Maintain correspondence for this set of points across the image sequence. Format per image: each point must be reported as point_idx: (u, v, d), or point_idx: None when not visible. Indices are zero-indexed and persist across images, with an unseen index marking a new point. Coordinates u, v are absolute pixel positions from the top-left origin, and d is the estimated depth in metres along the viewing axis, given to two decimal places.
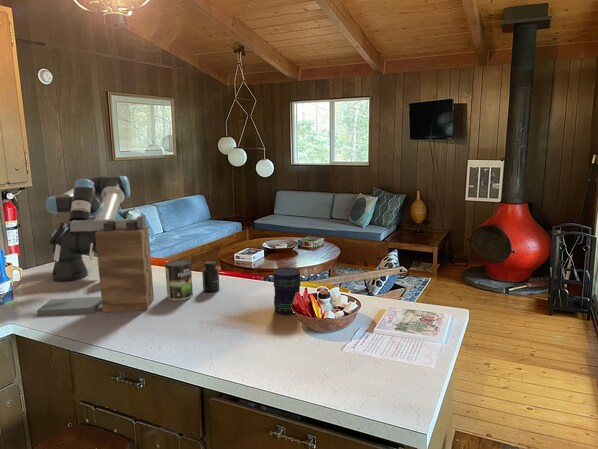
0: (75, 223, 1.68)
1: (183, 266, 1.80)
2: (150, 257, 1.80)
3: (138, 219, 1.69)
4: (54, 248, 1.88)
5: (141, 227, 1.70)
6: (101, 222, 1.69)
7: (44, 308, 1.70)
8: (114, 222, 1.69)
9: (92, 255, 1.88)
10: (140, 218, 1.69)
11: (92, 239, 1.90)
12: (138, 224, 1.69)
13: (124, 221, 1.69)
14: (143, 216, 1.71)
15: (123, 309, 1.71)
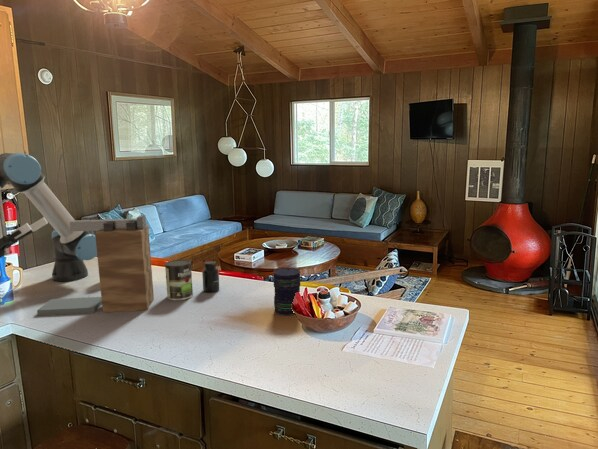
0: (75, 223, 1.68)
1: (183, 266, 1.80)
2: (150, 257, 1.80)
3: (138, 219, 1.69)
4: None
5: (141, 227, 1.70)
6: (101, 222, 1.69)
7: (44, 308, 1.70)
8: (114, 222, 1.69)
9: (24, 228, 1.63)
10: (140, 218, 1.69)
11: None
12: (138, 224, 1.69)
13: (124, 221, 1.69)
14: (143, 216, 1.71)
15: (123, 309, 1.71)
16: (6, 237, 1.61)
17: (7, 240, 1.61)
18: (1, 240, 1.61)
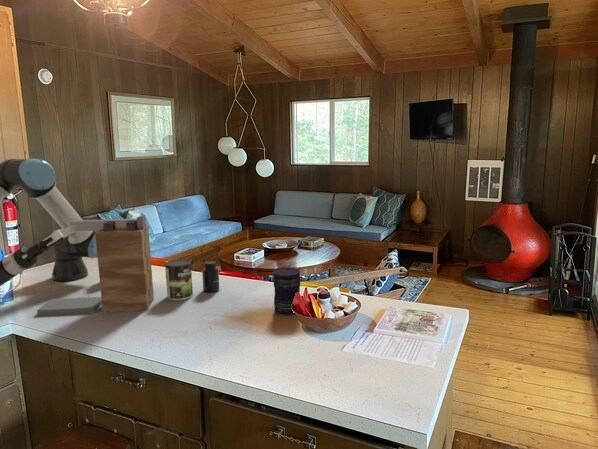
0: (75, 223, 1.68)
1: (183, 266, 1.80)
2: (150, 257, 1.80)
3: (138, 219, 1.69)
4: None
5: (141, 227, 1.70)
6: (101, 222, 1.69)
7: (44, 308, 1.70)
8: (114, 222, 1.69)
9: (56, 235, 1.62)
10: (140, 218, 1.69)
11: None
12: (138, 224, 1.69)
13: (124, 221, 1.69)
14: (143, 216, 1.71)
15: (123, 309, 1.71)
16: (38, 245, 1.59)
17: (39, 248, 1.59)
18: (33, 248, 1.60)
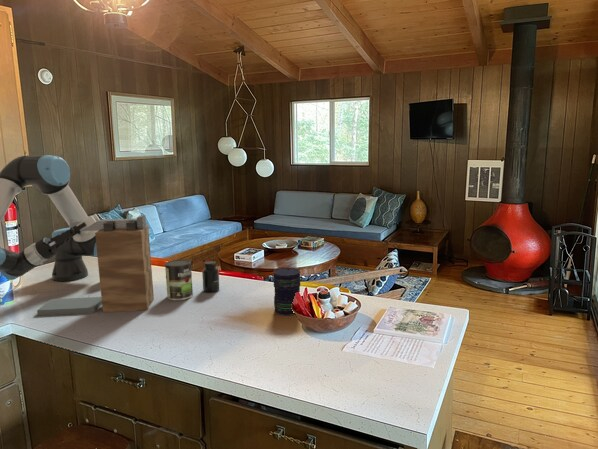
0: (75, 223, 1.68)
1: (183, 266, 1.80)
2: (150, 257, 1.80)
3: (138, 219, 1.69)
4: None
5: (141, 227, 1.70)
6: (101, 222, 1.69)
7: (44, 308, 1.70)
8: (114, 222, 1.69)
9: (89, 221, 1.67)
10: (140, 218, 1.69)
11: None
12: (138, 224, 1.69)
13: (124, 221, 1.69)
14: (143, 216, 1.71)
15: (123, 309, 1.71)
16: (73, 229, 1.65)
17: (74, 232, 1.65)
18: (67, 232, 1.64)
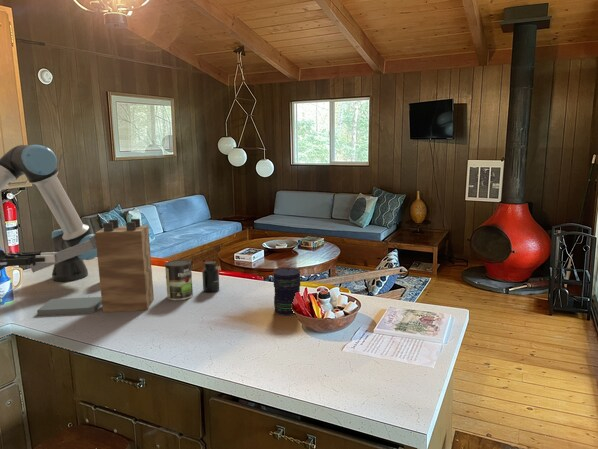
0: None
1: (183, 266, 1.80)
2: (150, 257, 1.80)
3: (91, 239, 1.69)
4: None
5: None
6: (58, 254, 1.69)
7: (44, 308, 1.70)
8: (70, 249, 1.69)
9: (49, 258, 1.68)
10: (92, 237, 1.69)
11: None
12: (93, 244, 1.69)
13: (79, 245, 1.69)
14: None
15: (123, 309, 1.71)
16: (30, 260, 1.66)
17: (30, 263, 1.66)
18: (23, 260, 1.65)
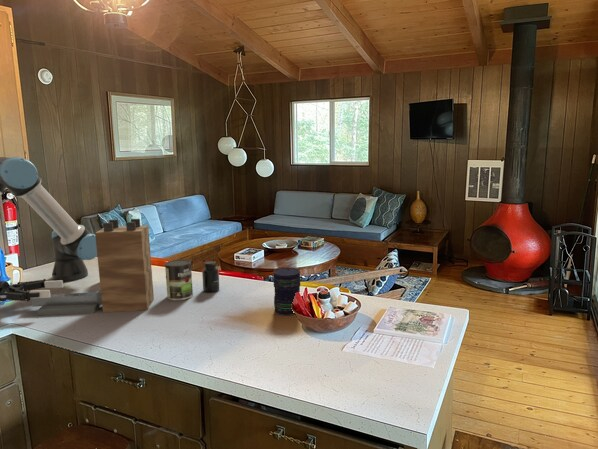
0: (36, 298, 1.71)
1: (183, 266, 1.80)
2: (150, 257, 1.80)
3: (98, 295, 1.72)
4: None
5: (101, 302, 1.72)
6: (62, 297, 1.72)
7: (44, 308, 1.70)
8: (75, 297, 1.72)
9: (44, 293, 1.67)
10: (100, 294, 1.72)
11: None
12: (98, 299, 1.72)
13: (84, 296, 1.72)
14: None
15: (123, 309, 1.71)
16: (24, 296, 1.64)
17: (24, 299, 1.64)
18: (18, 296, 1.64)
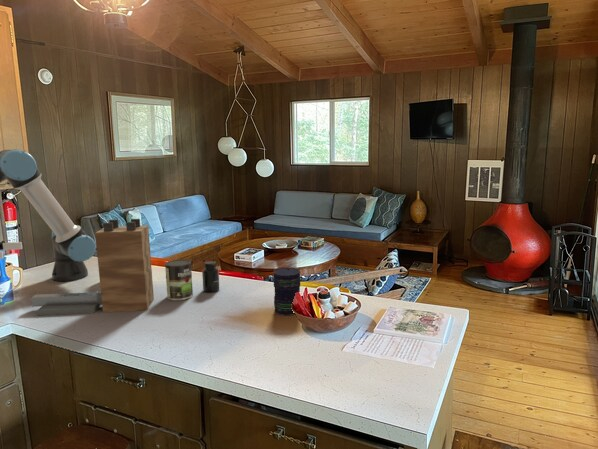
0: (36, 298, 1.71)
1: (183, 266, 1.80)
2: (150, 257, 1.80)
3: (98, 295, 1.72)
4: None
5: (101, 302, 1.72)
6: (62, 297, 1.72)
7: (44, 308, 1.70)
8: (75, 297, 1.72)
9: None
10: (100, 294, 1.72)
11: None
12: (98, 299, 1.72)
13: (84, 296, 1.72)
14: None
15: (123, 309, 1.71)
16: None
17: None
18: None
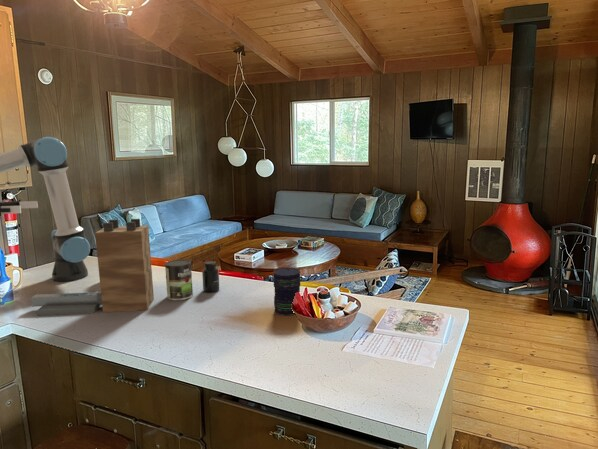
0: (36, 298, 1.71)
1: (183, 266, 1.80)
2: (150, 257, 1.80)
3: (98, 295, 1.72)
4: None
5: (101, 302, 1.72)
6: (62, 297, 1.72)
7: (44, 308, 1.70)
8: (75, 297, 1.72)
9: (15, 209, 1.69)
10: (100, 294, 1.72)
11: None
12: (98, 299, 1.72)
13: (84, 296, 1.72)
14: None
15: (123, 309, 1.71)
16: None
17: None
18: None
